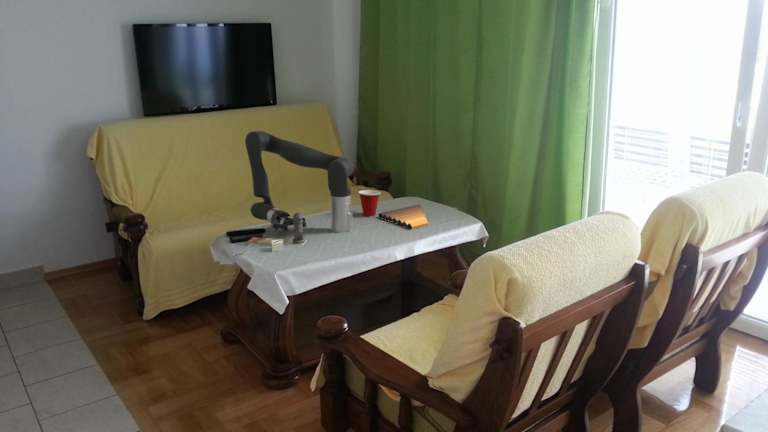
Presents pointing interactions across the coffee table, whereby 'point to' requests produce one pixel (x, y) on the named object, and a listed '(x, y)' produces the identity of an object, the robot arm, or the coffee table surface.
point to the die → (277, 245)
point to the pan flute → (406, 216)
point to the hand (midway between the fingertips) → (296, 226)
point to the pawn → (298, 229)
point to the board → (270, 240)
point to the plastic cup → (369, 201)
